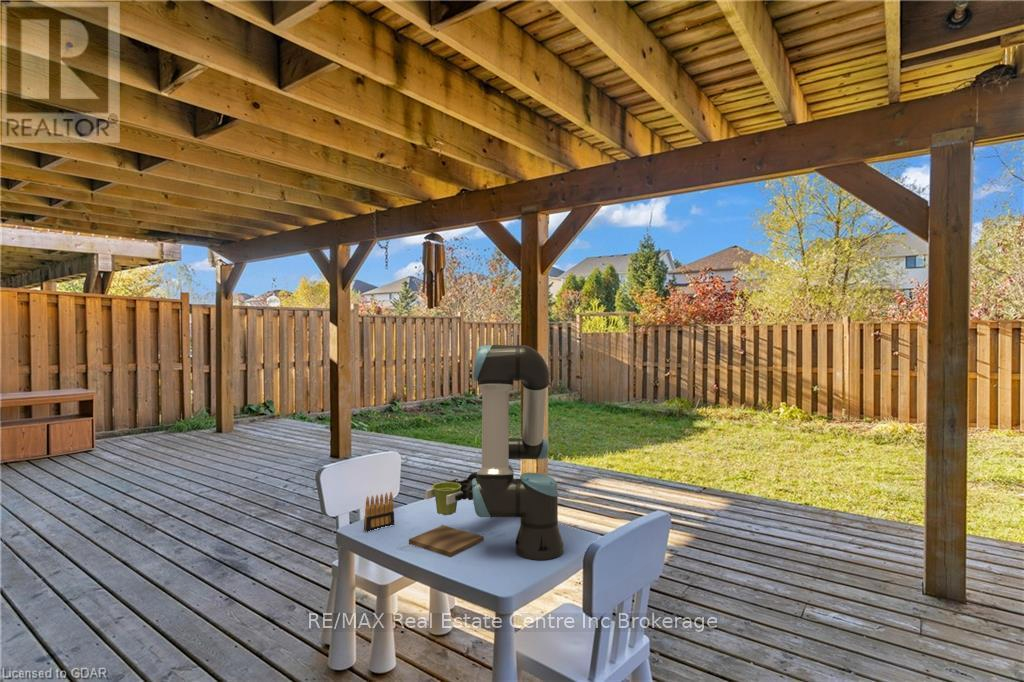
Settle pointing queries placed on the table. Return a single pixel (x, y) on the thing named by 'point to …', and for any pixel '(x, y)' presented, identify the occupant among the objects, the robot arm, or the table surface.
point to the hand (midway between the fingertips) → (436, 497)
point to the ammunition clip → (378, 513)
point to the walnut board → (446, 540)
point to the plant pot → (440, 497)
